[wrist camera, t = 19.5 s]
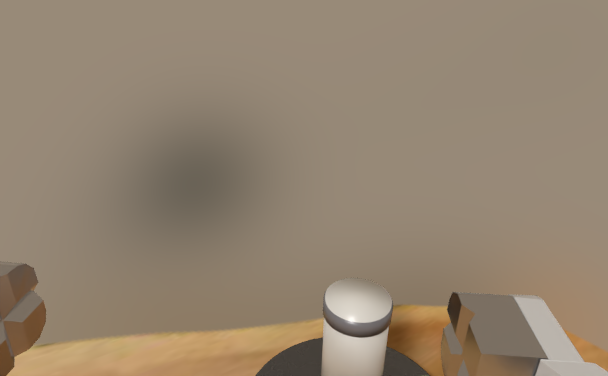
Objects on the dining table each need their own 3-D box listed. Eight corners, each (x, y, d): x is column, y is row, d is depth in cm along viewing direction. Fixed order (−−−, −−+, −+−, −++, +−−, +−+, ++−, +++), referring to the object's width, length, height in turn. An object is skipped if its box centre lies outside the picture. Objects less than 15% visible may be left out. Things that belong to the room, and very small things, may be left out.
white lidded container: (375, 391, 39) (389, 279, 34) (380, 444, 34) (397, 323, 29) (319, 386, 39) (324, 275, 34) (316, 439, 34) (322, 318, 29)
